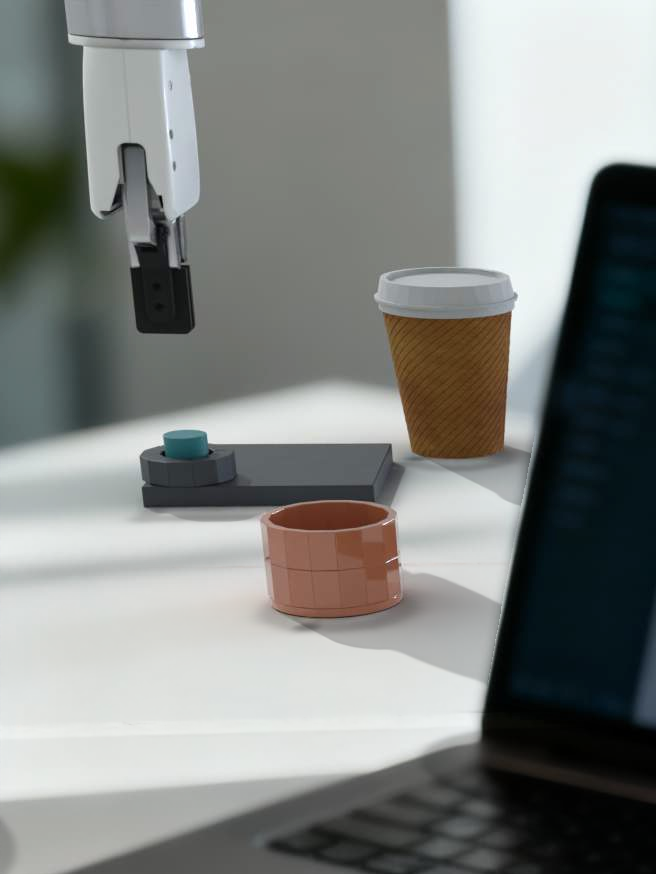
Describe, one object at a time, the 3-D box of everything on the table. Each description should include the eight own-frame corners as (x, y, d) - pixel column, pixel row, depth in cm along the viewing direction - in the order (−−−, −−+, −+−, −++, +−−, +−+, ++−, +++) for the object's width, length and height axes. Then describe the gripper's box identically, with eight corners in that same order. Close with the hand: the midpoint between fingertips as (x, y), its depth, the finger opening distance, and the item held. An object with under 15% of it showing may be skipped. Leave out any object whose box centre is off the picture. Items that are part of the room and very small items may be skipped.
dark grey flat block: (138, 509, 149) (132, 462, 148) (173, 464, 160) (168, 420, 159) (375, 507, 152) (370, 461, 151) (393, 463, 163) (389, 419, 162)
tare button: (162, 462, 150) (159, 438, 149) (169, 453, 152) (166, 429, 152) (205, 462, 150) (203, 438, 150) (212, 453, 153) (209, 429, 152)
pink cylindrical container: (261, 618, 129) (252, 533, 128) (279, 582, 136) (270, 500, 134) (397, 616, 131) (389, 531, 129) (408, 580, 137) (401, 499, 135)
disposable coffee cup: (541, 460, 166) (530, 285, 161) (400, 469, 162) (385, 290, 157) (511, 431, 173) (500, 263, 169) (376, 439, 169) (361, 268, 165)
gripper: (93, 11, 147) (126, 311, 154) (38, 23, 133) (76, 352, 140) (221, 16, 149) (248, 313, 155) (180, 29, 135) (210, 354, 142)
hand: (166, 331), depth 148 cm, fingers closed
